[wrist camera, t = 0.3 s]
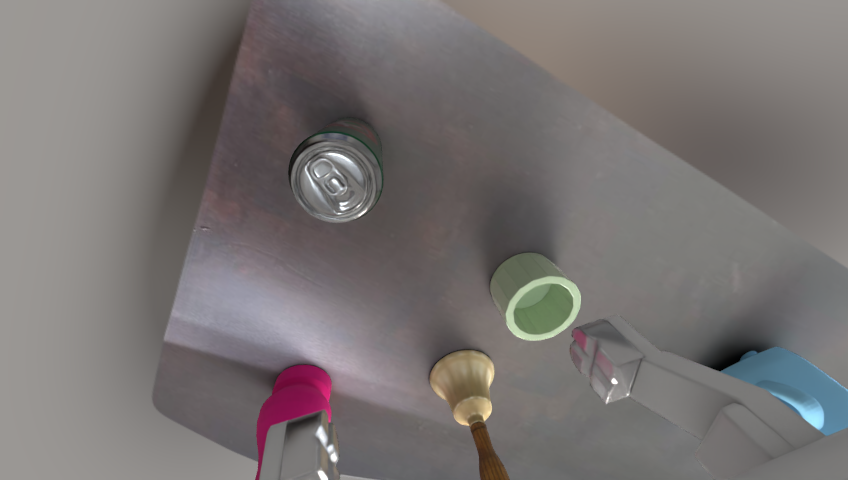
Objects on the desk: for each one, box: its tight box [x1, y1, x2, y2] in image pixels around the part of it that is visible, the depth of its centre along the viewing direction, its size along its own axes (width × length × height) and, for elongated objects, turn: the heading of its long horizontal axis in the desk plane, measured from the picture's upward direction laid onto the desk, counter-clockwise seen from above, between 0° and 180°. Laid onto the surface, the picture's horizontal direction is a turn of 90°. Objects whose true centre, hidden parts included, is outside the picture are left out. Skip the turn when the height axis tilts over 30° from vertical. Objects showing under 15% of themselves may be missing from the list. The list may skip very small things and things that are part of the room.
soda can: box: [288, 118, 383, 223], centre depth 22 cm, size 5×5×12 cm
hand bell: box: [430, 350, 510, 480], centre depth 33 cm, size 8×8×16 cm
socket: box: [490, 253, 581, 341], centre depth 33 cm, size 8×8×5 cm
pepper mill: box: [255, 365, 332, 480], centre depth 29 cm, size 7×7×20 cm
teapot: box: [720, 347, 848, 436], centre depth 42 cm, size 18×16×14 cm
